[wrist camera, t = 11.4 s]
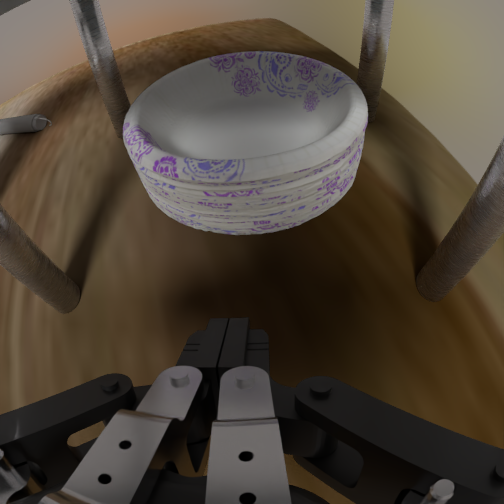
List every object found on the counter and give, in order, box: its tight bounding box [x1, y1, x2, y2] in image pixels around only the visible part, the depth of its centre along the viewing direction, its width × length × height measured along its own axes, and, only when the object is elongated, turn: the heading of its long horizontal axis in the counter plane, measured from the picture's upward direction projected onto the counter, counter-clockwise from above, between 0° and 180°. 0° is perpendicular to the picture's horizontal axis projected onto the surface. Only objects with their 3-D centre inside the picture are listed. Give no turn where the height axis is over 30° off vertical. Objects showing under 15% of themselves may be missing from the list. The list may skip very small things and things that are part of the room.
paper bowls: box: [123, 51, 368, 235], centre depth 20 cm, size 15×15×8 cm
